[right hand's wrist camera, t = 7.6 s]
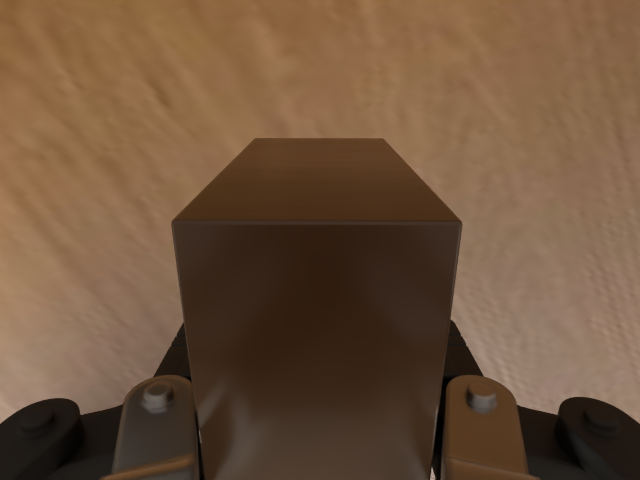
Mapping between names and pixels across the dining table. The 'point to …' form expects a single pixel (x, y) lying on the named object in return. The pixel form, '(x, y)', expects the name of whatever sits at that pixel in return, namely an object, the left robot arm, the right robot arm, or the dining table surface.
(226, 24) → the dining table surface
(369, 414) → the post
